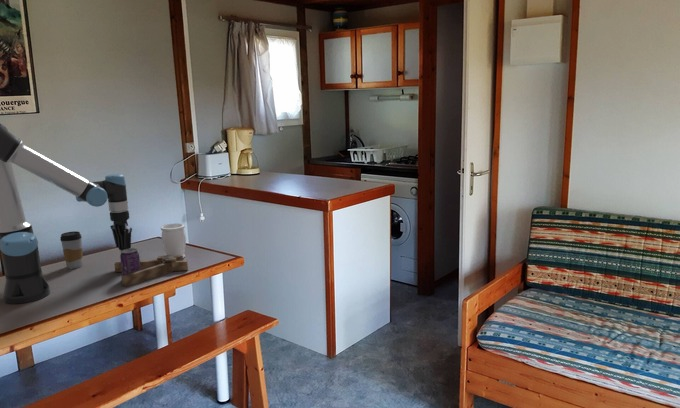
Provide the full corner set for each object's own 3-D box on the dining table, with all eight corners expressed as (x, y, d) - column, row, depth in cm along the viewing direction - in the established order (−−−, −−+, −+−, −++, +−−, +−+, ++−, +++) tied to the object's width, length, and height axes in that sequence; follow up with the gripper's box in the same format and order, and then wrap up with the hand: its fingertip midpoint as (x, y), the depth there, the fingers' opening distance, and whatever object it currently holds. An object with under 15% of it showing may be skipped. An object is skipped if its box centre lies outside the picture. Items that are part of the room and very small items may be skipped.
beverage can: (129, 275, 217) (126, 247, 215) (145, 276, 216) (142, 248, 213) (119, 281, 210) (115, 252, 208) (135, 282, 209) (132, 253, 206)
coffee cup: (89, 263, 235) (85, 231, 232) (78, 269, 227) (73, 236, 224) (71, 263, 236) (67, 231, 232) (60, 269, 227) (55, 236, 224)
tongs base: (125, 287, 204) (124, 276, 203) (116, 284, 208) (115, 273, 207) (189, 265, 227) (188, 256, 226) (180, 263, 231) (179, 254, 230)
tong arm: (112, 275, 217) (111, 263, 216) (116, 270, 223) (115, 258, 222) (187, 270, 221) (186, 258, 220) (189, 265, 227) (188, 253, 226)
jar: (186, 260, 235) (183, 227, 232) (162, 262, 233) (158, 229, 230) (188, 253, 245) (185, 222, 242) (165, 255, 244) (162, 223, 241)
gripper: (135, 210, 222) (141, 264, 227) (118, 207, 230) (124, 259, 235) (119, 214, 216) (125, 268, 221) (102, 210, 224) (109, 263, 229)
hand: (125, 263), depth 228 cm, fingers closed
